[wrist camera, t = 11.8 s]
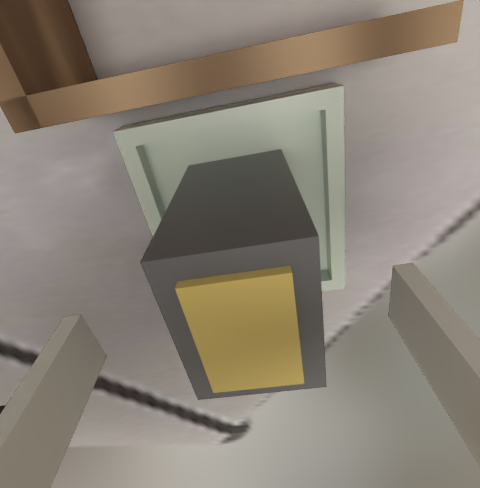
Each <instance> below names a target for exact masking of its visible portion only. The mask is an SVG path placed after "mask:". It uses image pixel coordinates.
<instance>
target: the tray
mask: <svg viewBox="0 0 480 488" xmlns="http://www.w3.org/2000/svg"><path fill="white" fill-rule="evenodd" d="M113 134H114V137H115V140H116V142H117V145H118V148H119V150H120V153H121V155H122V158H123V161H124V163H125V166H126V168H127V171H128V174H129V176H130V179H131V181H132V184H133V187H134V189H135V192H136V194H137V197H138V200H139V202H140V205H141V207H142V210H143V213H144V215H145V218H146V220H147V223H148V226H149V228H150V231H151V234H152V236H154V234H155V232H156V230H157V228H158V226H159V224H160V222H161V220H162V218H163V216H164V214H165V212H166V210H167V208H168V206H169V204H170V202H171V200H172V198H173V196H174V194H175V192H176V190H177V188H178V186H179V184H180V182H181V180H182V178H183V176H184V174H185V172H186V169H187V167H188V165H193V164H199V163H205V162H210V161H216V160H222V159H227V158H233V157H239V156H244V155H250V154H256V153H261V152H267V151H273V150H278V149H281V150H282V152H283V154H284V157H285V159H286V161H287V164H288V166H289V168H290V171H291V173H292V175H293V178H294V180H295V182H296V184H297V187H298V189H299V191H300V194H301V196H302V198H303V201H304V203H305V205H306V207H307V210H308V212H309V214H310V217H311V219H312V221H313V224H314V226H315V228H316V231H317V233H318V235H319V247H320V267H321V287H322V291H330V290H337V289H344V288H345V160H344V85H340V84H336V83H334V84H329V85H324V86H319V87H314V88H309V89H304V90H299V91H294V92H289V93H284V94H279V95H274V96H269V97H264V98H259V99H254V100H249V101H244V102H239V103H234V104H230V105H225V106H220V107H215V108H210V109H205V110H200V111H195V112H190V113H185V114H180V115H175V116H170V117H165V118H160V119H155V120H150V121H145V122H140V123H135V124H130V125H125V126H122V127H120V128H119V129H117V130H115V131H113Z"/></svg>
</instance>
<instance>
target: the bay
mask: <svg viewBox="0 0 480 488" xmlns="http://www.w3.org/2000/svg"><path fill="white" fill-rule="evenodd" d="M463 1H464V0H460V1H455V2H451V3H446V4H442V5H437V6H433V7H428V8H424V9H419V10H414V11H410V12H405V13H401V14H396V15H392V16H387V17H382V18H378V19H373V20H369V21H364V22H360V23H355V24H351V25H346V26H341V27H337V28H332V29H328V30H323V31H319V32H314V33H310V34H305V35H300V36H296V37H291V38H287V39H282V40H278V41H273V42H269V43H264V44H259V45H255V46H250V47H246V48H241V49H237V50H232V51H227V52H223V53H218V54H214V55H209V56H205V57H200V58H196V59H191V60H186V61H182V62H177V63H173V64H168V65H164V66H159V67H155V68H150V69H145V70H141V71H136V72H132V73H127V74H123V75H118V76H113V77H109V78H104V79H100V80H97V77H96V75H95V72H94V69H93V67H92V64H91V61H90V59H89V56H88V53H87V51H86V48H85V45H84V43H83V40H82V37H81V35H80V32H79V29H78V27H77V24H76V22H75V19H74V16H73V14H72V11H71V8H70V6H69V3H68V0H0V106H1V108H2V110H3V112H4V114H5V116H6V117H7V119H8V121H9V123H10V125H11V127H12V129H13V130H14V132H15V133H19V132H24V131H29V130H34V129H39V128H44V127H48V126H53V125H58V124H63V123H68V122H73V121H77V120H82V119H87V118H92V117H97V116H102V115H106V114H111V113H116V112H121V111H126V110H131V109H135V108H140V107H145V106H150V105H155V104H160V103H165V102H169V101H174V100H179V99H184V98H189V97H194V96H198V95H203V94H208V93H213V92H218V91H223V90H227V89H232V88H237V87H242V86H247V85H252V84H256V83H261V82H266V81H271V80H276V79H281V78H285V77H290V76H295V75H300V74H305V73H310V72H314V71H319V70H324V69H329V68H334V67H339V66H343V65H348V64H353V63H358V62H363V61H368V60H372V59H377V58H382V57H387V56H392V55H397V54H401V53H406V52H411V51H416V50H421V49H426V48H430V47H435V46H440V45H445V44H450V43H455V42H457V40H458V34H459V27H460V21H461V14H462V8H463Z"/></svg>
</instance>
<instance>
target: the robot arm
mask: <svg viewBox="0 0 480 488" xmlns="http://www.w3.org/2000/svg"><path fill="white" fill-rule="evenodd" d="M388 316H389V318H390V320H391V321H392V323H393V324H394V326H395V328H396V329H397V331H398V333H399V334H400V336H401V338H402V339H403V341H404V343H405V344H406V346H407V348H408V349H409V351H410V353H411V354H412V356H413V358H414V359H415V361H416V363H417V364H418V366H419V367H420V369H421V371H422V372H423V374H424V376H425V377H426V379H427V381H428V382H429V384H430V386H431V387H432V389H433V391H434V392H435V394H436V395H437V397H438V399H439V401H440V402H441V403H442V405H443V407H444V409H445V410H446V412H447V414H448V415H449V417H450V419H451V420H452V422H453V424H454V425H455V427H456V429H457V430H458V432H459V433H460V435H461V437H462V439H463V440H464V442H465V444H466V445H467V447H468V449H469V450H470V452H471V454H472V455H473V457H474V458H475V460H476V462H477V463H478V465H479V467H480V338H479V337H478V336H477V335H476V334H475V333H474V331H473V330H472V329H471V328H470V327H469V326H468V325H467V324H466V322H465V321H464V320H463V319H462V318H461V317H460V316H459V314H458V313H457V312H456V311H455V310H454V309H453V308H452V307H451V306H450V304H449V303H448V302H447V301H446V300H445V299H444V298H443V296H442V295H441V294H440V293H439V292H438V291H437V290H436V288H435V287H434V286H433V285H432V284H431V283H430V282H429V281H428V279H427V278H426V277H425V276H424V275H423V274H422V273H421V272H420V270H419V269H418V268H417V267H416V266H415V265H414V264H413V263H407V264H400V265H394V266H393V269H392V280H391V291H390V303H389V314H388ZM106 357H107V356H106V354H105V352H104V351H103V349H102V348H101V346H100V344H99V343H98V341H97V340H96V338H95V336H94V335H93V333H92V331H91V330H90V328H89V327H88V325H87V323H86V322H85V320H84V319H83V317H82V315H81V314H80V315H73V316H67V317H64V318H63V320H62V321H61V323H60V324H59V326H58V327H57V329H56V330H55V332H54V333H53V335H52V336H51V338H50V339H49V341H48V342H47V344H46V345H45V347H44V348H43V350H42V351H41V353H40V354H39V356H38V358H37V359H36V361H35V362H34V364H33V365H32V367H31V368H30V370H29V371H28V373H27V374H26V376H25V377H24V379H23V380H22V382H21V383H20V385H19V386H18V388H17V389H16V391H15V393H14V394H13V396H12V397H11V399H10V400H9V402H8V403H7V405H5V406H0V488H51V485H52V483H53V481H54V479H55V476H56V474H57V472H58V469H59V467H60V464H61V462H62V460H63V457H64V455H65V453H66V451H67V448H68V446H69V444H70V441H71V439H72V437H73V434H74V432H75V430H76V427H77V425H78V422H79V420H80V418H81V415H82V413H83V411H84V408H85V406H86V404H87V401H88V399H89V397H90V394H91V392H92V390H93V387H94V385H95V383H96V380H97V378H98V376H99V373H100V371H101V369H102V366H103V364H104V362H105V359H106Z"/></svg>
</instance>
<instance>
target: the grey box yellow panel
mask: <svg viewBox="0 0 480 488" xmlns="http://www.w3.org/2000/svg"><path fill="white" fill-rule="evenodd" d="M140 263H141V265H142V268H143V270H144V272H145V275H146V277H147V279H148V282H149V284H150V287H151V289H152V291H153V294H154V296H155V299H156V301H157V303H158V306H159V308H160V310H161V313H162V315H163V318H164V320H165V322H166V325H167V327H168V329H169V332H170V334H171V337H172V339H173V341H174V344H175V346H176V348H177V351H178V353H179V356H180V358H181V360H182V363H183V365H184V368H185V370H186V372H187V375H188V377H189V379H190V382H191V384H192V387H193V389H194V391H195V394H196V396H197V398H198V400H201V399H211V398H221V397H231V396H241V395H250V394H260V393H270V392H280V391H290V390H298V389H309V388H320V387H326V367H325V347H324V327H323V307H322V287H321V267H320V247H319V235H318V233H317V231H316V228H315V226H314V224H313V221H312V219H311V217H310V214H309V212H308V210H307V207H306V205H305V203H304V201H303V198H302V196H301V194H300V191H299V189H298V187H297V184H296V182H295V180H294V178H293V175H292V173H291V171H290V168H289V166H288V164H287V161H286V159H285V157H284V154H283V152H282V150H281V149H278V150H273V151H267V152H261V153H256V154H250V155H244V156H239V157H233V158H227V159H222V160H216V161H210V162H205V163H199V164H193V165H188V167H187V169H186V172H185V174H184V176H183V178H182V180H181V182H180V184H179V186H178V188H177V190H176V192H175V194H174V196H173V198H172V200H171V202H170V204H169V206H168V208H167V210H166V212H165V214H164V216H163V218H162V220H161V222H160V224H159V226H158V228H157V230H156V232H155V234H154V236H153V238H152V240H151V242H150V244H149V246H148V248H147V250H146V252H145V254H144V256H143V258H142V260H141V262H140Z"/></svg>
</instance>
